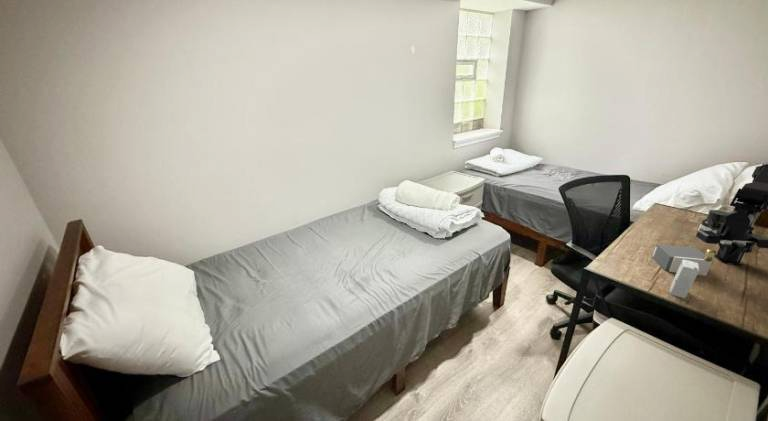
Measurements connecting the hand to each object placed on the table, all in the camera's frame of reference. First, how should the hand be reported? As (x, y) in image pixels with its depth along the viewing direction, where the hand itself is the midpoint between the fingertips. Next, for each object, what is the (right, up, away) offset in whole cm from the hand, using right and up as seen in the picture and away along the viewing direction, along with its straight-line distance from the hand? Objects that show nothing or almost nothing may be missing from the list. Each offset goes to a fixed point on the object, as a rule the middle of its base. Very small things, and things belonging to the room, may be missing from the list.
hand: (722, 258), depth 117 cm
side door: (-8, -6, +5) cm, 12 cm away
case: (-7, -4, +10) cm, 13 cm away
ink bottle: (+30, +6, +34) cm, 46 cm away
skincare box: (-22, -12, -5) cm, 25 cm away
